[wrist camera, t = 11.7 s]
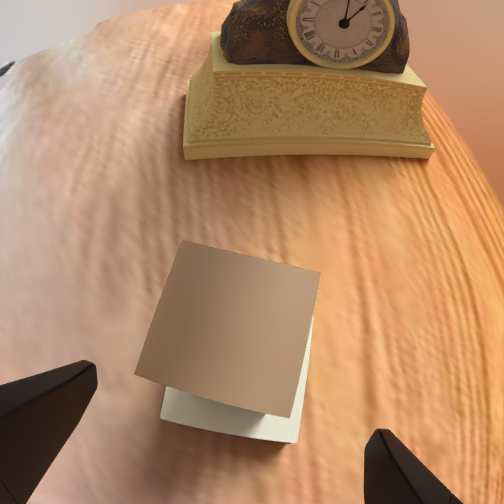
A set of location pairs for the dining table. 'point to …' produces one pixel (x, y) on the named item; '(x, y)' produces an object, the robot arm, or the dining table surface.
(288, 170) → the dining table surface
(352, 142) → the decorative clock
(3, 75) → the dining table surface
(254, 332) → the walnut pillar
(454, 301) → the dining table surface
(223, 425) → the tower top block
